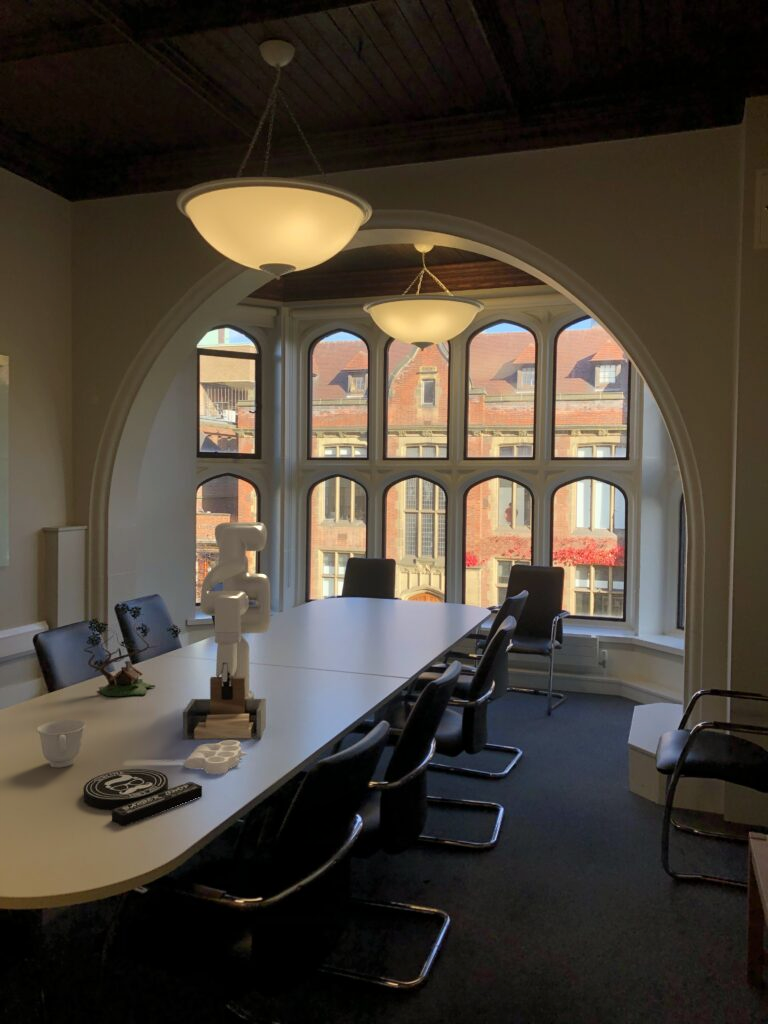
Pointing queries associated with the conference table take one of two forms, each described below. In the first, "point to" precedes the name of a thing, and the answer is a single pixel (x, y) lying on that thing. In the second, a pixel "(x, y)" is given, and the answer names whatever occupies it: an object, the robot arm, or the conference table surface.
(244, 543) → the robot arm
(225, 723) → the offcut upper
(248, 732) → the offcut lower
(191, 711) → the rack
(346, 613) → the conference table surface
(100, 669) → the bonsai tree
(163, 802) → the decorative sign
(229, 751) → the white brass knuckles
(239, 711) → the wooden plank
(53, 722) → the teacup
